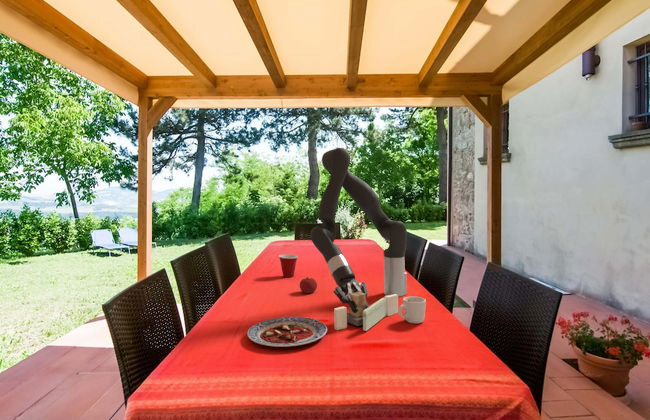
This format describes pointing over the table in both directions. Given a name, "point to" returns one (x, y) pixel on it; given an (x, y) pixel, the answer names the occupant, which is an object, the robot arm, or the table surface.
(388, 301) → the wooden blocks
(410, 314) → the cup
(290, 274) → the plastic cup
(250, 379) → the table surface
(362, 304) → the wooden block on base
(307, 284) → the tomato
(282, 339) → the ceramic plate
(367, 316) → the gate
